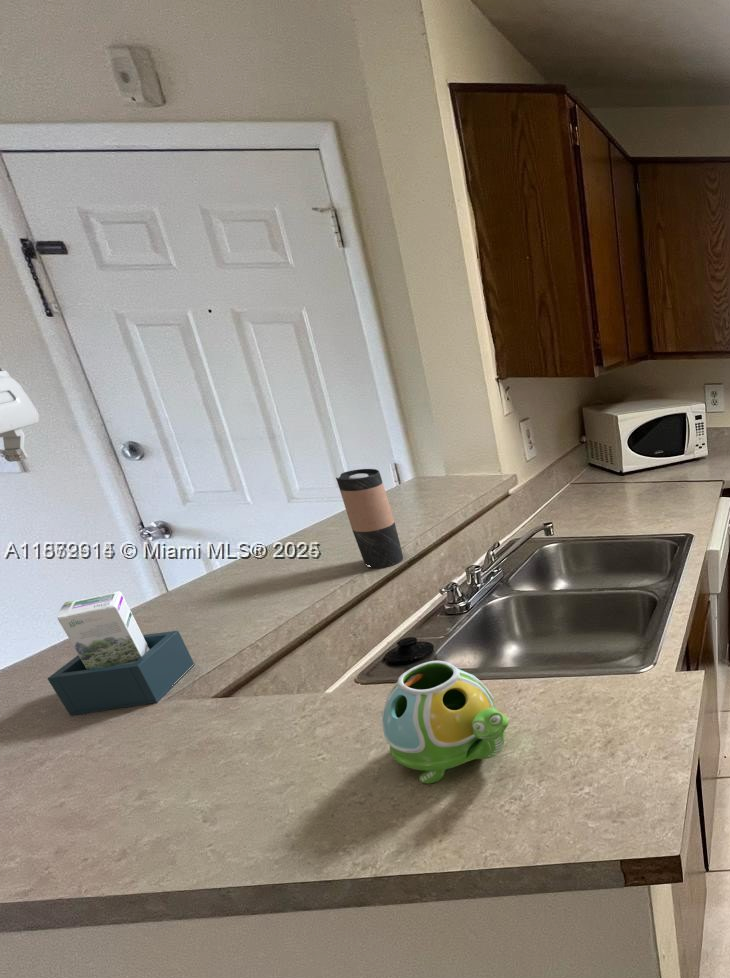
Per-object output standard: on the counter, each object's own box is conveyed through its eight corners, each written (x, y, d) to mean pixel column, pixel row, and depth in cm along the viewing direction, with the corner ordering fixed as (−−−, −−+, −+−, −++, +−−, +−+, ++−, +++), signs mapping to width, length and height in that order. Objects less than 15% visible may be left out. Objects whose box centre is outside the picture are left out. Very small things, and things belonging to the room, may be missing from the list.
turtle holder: (468, 811, 72) (444, 732, 67) (372, 762, 79) (345, 687, 74) (549, 745, 82) (533, 672, 77) (458, 706, 89) (438, 637, 84)
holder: (69, 715, 87) (46, 678, 84) (116, 675, 95) (97, 640, 93) (157, 702, 90) (137, 666, 87) (195, 664, 98) (178, 630, 96)
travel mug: (412, 559, 135) (387, 472, 126) (375, 572, 129) (347, 481, 120) (393, 551, 138) (367, 466, 130) (356, 564, 132) (327, 475, 124)
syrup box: (162, 669, 96) (120, 588, 90) (158, 688, 92) (114, 604, 86) (110, 683, 93) (63, 600, 87) (104, 703, 89) (54, 617, 83)
